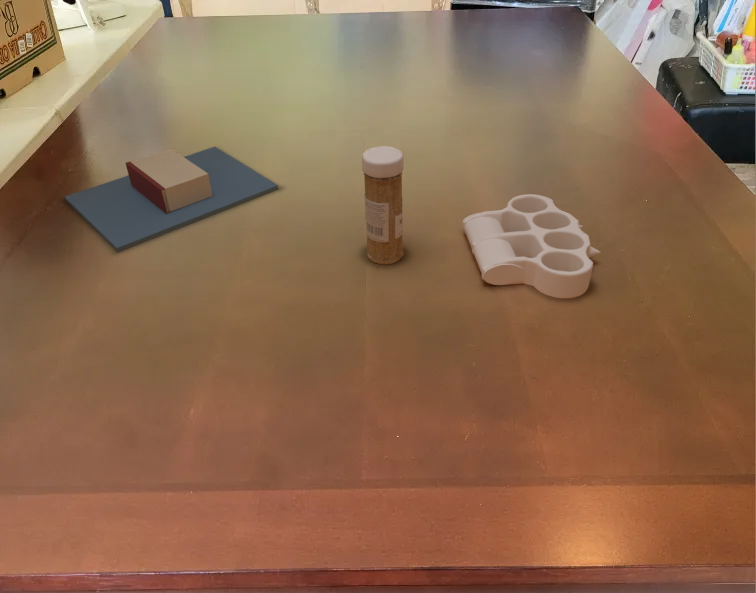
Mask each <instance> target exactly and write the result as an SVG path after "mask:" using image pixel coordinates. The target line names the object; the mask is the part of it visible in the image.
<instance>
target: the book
mask: <svg viewBox="0 0 756 593" xmlns="http://www.w3.org/2000/svg"><path fill="white" fill-rule="evenodd" d="M184 157H185V156H183V155H181V154H180V153H178V152H177V151H175V150H174V149H172V148H169V149H166V150H163V151H159V152H156V153H154V154H150V155H146V156H143V157H141V158H138V159H134V160H131V161H127V162H125V163H124V164H125V167H126V170H127V176H128V175H129V178H130V182H131V186H133V187H134V188H135V189H136V190H138V191H139V192H140V193H141V194H143V195H144V196H145V197H146V198H147V199H149V200H150V201H151V202H152V203H154V204H155V205H156V206H157V207H159V208H160V209H161V210H162V211H163V212H165V213H166V214H167V213H169V212H171V211H174V210H177V209H179V208H182V207H185V206H187V205H190V204H193V203H196V202H198V201H201V200H204V199H206V198H209V197H212V191H211V186H210V180H209V175H208V173H206V172H205V171H203V170H202V169H201V168H199V167H198V166H196V165H195V164H193V163H192V162H190V161H189V160H187V159H186V158H184Z"/></svg>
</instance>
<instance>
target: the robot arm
mask: <svg viewBox="0 0 756 593" xmlns="http://www.w3.org/2000/svg"><path fill="white" fill-rule="evenodd" d="M62 2H64V3H65V4H67V5H69V6H74V5H76V3H77V0H62Z"/></svg>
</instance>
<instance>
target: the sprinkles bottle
mask: <svg viewBox="0 0 756 593" xmlns="http://www.w3.org/2000/svg"><path fill="white" fill-rule="evenodd" d="M404 162H405V161H404V154H403V152H402V151H401V150H400V149H398V148H396V147H393V146H389V145H388V146H387V145H380V146H374V147H370V148H368V149H366V150H364V151H363V153H362V155H361V168H362V172H363V176H364V177H363V178H364V215H365V217H364V218H365V233H366V245H367V249H366V257H367V259H368V260H369V261H370V262H372V263H374V264H378V265H383V266H384V265H386V266H387V265H392V264H395V263H397V262H399V261H400V260H401V259H402V258H403V257H404V249H403V233H404V225H403V224H404V223H403V222H404V220H403V218H404V217H403V214H404V213H403V195H402V194H403V191H402V190H403V182H402V181H403V177H402V175H403V171H404Z"/></svg>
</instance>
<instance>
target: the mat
mask: <svg viewBox="0 0 756 593" xmlns="http://www.w3.org/2000/svg"><path fill="white" fill-rule="evenodd" d="M183 157H184V158H186V159H187V160H189V161H190V162H192V163H193V164H195V165H196V166H198V167H199V168H201V169H202V170H203V171H205V172H206V173H208V175H209V180H210V186H211V191H212V197H209V198H206V199H204V200H201V201H198V202H196V203H193V204H190V205H187V206H185V207H182V208H179V209H177V210H174V211H171V212H169V213H167V214H166V213H165V212H163V211H162V210H161V209H160V208H159V207H157V206H156V205H155V204H154V203H152V202H151V201H150V200H149V199H147V198H146V197H145V196H144V195H143V194H141V193H140V192H139V191H138V190H136V189H135V188H134V187H133V186H131V182H130V178H129V175H128V174H127V175H124V176H122V177H119V178H115V179H114V180H109V181H107V182H105V183H101V184H98V185H95V186H92V187H89V188H86V189H83V190H80V191H78V192H75V193H71V194H69V195H66V196H64V200H65V202H66V203H67V204H68V205H69V206H70V208H72V209H73V210H74V211H75V212H76V213H77V214H79V216H80V217H81V218H82V219H83V220H84V221H85V222H86V223H87V224H88V225H89V226H90V227H91V228H93V229H94V231H96V232H97V234H98V235H100V236H101V237H102V239H103V240H104V241H106V243H108V244H109V245H110V247H112V248H113V249H114V250H115V251H116V253H120V252H123V251H125V250H128V249H130V248H133V247H136V246H139V245H141V244H143V243H145V242H148V241H151V240H153V239H156V238H159V237H161V236H163V235H166V234H169V233H171V232H174V231H177V230H179V229H181V228H184V227H187V226H189V225H191V224H194V223H197V222H199V221H202V220H204V219H206V218H209V217H212V216H214V215H217V214H219V213H222V212H224V211H227V210H230V209H232V208H235V207H238V206H240V205H242V204H246V203H247V202H250V201H252V200H255V199H258V198H260V197H263V196H265V195H269V194H270V193H273V192H275V191H278V190H279V185H278V184H277V183H275V182H274V181H272V180H271V179H269V178H267V177H265V176H264V175H262V174H260V173H259V172H257V171H256V170H254V169H253V168H251V167H249V166H248V165H246V164H244V163H242V162H241V161H239V160H238V159H236V158H234V157H233V156H231V155H229V154H227V153H226V152H225V151H223V150H222V149H220V148H218V147H216V146H212V147H208V148H205V149H202V150H199V151H197V152H194V153H192V154H188V155H185V156H183Z"/></svg>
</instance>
